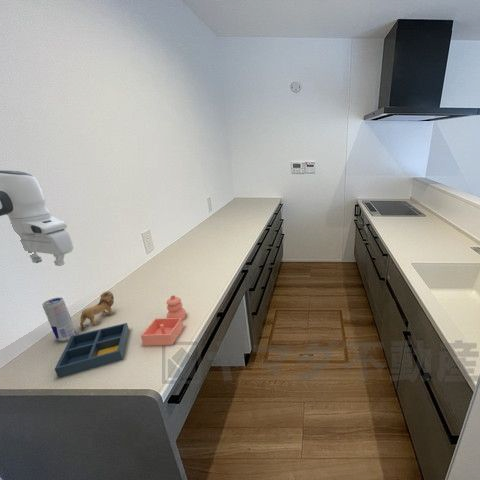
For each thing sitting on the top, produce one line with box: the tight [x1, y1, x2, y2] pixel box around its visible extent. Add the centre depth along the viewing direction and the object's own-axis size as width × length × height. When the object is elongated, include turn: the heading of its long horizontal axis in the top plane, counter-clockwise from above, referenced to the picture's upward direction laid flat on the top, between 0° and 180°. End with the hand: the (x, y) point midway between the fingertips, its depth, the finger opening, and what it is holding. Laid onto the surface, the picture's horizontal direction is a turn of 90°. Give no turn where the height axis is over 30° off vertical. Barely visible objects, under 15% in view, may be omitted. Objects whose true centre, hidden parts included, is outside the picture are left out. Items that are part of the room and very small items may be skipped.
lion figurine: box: [79, 290, 115, 332], centre depth 100 cm, size 15×5×9 cm, turn 175°
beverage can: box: [41, 297, 77, 342], centre depth 89 cm, size 5×5×15 cm
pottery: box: [140, 294, 187, 346], centre depth 96 cm, size 18×10×10 cm, turn 3°
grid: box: [54, 322, 130, 379], centre depth 85 cm, size 15×15×4 cm
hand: (48, 263), depth 87 cm, fingers open, 8 cm apart
